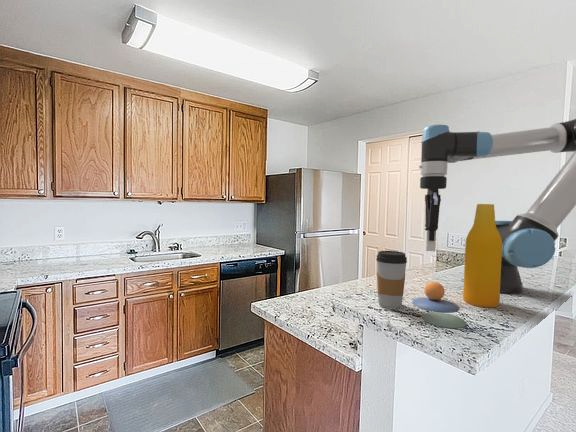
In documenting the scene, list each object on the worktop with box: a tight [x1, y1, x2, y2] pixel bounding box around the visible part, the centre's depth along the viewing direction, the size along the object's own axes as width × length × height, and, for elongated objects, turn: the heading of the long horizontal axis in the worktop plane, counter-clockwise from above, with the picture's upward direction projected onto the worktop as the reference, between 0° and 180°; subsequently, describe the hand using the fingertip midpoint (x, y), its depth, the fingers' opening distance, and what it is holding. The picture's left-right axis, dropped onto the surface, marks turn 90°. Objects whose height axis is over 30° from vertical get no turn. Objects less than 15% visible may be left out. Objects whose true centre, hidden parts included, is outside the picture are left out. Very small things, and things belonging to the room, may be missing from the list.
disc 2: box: [421, 311, 467, 329], centre depth 80 cm, size 10×10×1 cm
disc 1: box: [412, 297, 459, 313], centre depth 91 cm, size 12×12×1 cm
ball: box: [424, 281, 446, 300], centre depth 96 cm, size 6×6×6 cm
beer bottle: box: [462, 203, 502, 309], centre depth 93 cm, size 9×9×29 cm
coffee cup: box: [375, 250, 408, 310], centre depth 90 cm, size 8×8×15 cm
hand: (430, 250), depth 101 cm, fingers closed
